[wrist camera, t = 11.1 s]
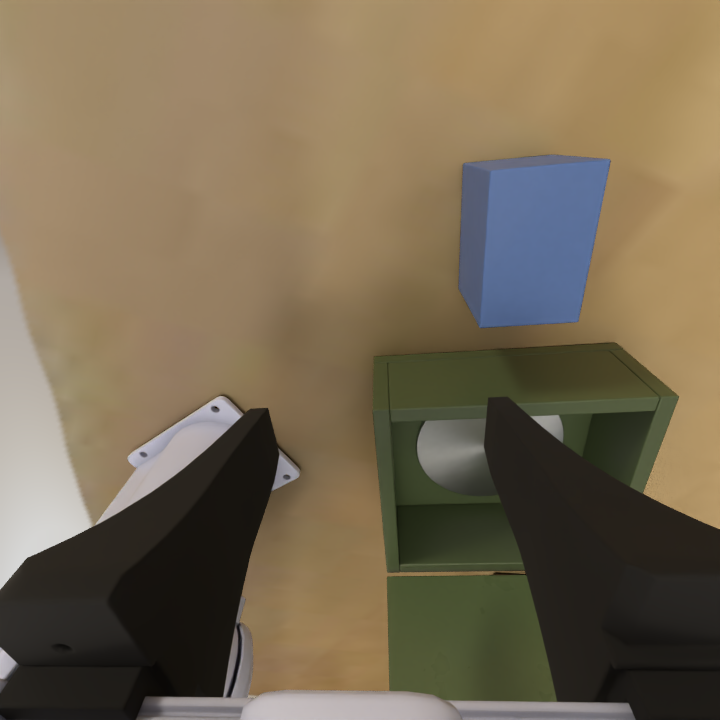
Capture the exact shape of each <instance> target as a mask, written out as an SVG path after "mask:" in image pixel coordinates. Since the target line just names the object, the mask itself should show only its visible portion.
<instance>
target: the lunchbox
mask: <svg viewBox="0 0 720 720" xmlns="http://www.w3.org/2000/svg"><path fill="white" fill-rule="evenodd" d="M488 397H509V398H510V399H511V400H512V401H513V402H515V403H516V404H517V405H518V406H519V407H520V408H521V409H522V410H524V411H525V412H526V413H527V414H528V415H529V416H550V415H559V416H560V419H561V421H562V425H563V430H564V438H563V444H565V445H566V446H567V447H569V448H570V449H571V450H573V451H574V452H576V453H577V454H578V455H580V456H581V457H582V458H584V459H585V460H587V461H588V462H590V463H591V464H593V465H594V466H596V467H598V468H599V469H601V470H602V471H604V472H606V473H607V474H609V475H610V476H612V477H614V478H615V479H617V480H619V481H620V482H622V483H624V484H626V485H627V486H629V487H631V488H633V489H635V490H637V491H639V492H640V493H642V494H643V491H644V489H645V486H646V483H647V481H648V478H649V476H650V473H651V470H652V468H653V465H654V462H655V460H656V457H657V454H658V452H659V449H660V446H661V444H662V441H663V438H664V436H665V433H666V430H667V428H668V425H669V422H670V420H671V417H672V414H673V412H674V409H675V406H676V404H677V401H678V398H679V396H678V395H677V394H676V393H675V392H673V391H672V390H671V389H670V388H669V387H667V386H666V385H665V384H664V383H663V382H662V381H660V380H659V379H658V378H657V377H656V376H654V375H653V374H652V373H651V372H650V371H649V370H647V369H646V368H645V367H644V366H643V365H641V364H640V363H639V362H638V361H637V360H636V359H634V358H633V357H632V356H631V355H630V354H629V353H627V352H626V351H625V350H623V348H621V347H620V346H619V345H618V344H617V343H604V344H586V345H569V346H551V347H534V348H516V349H499V350H481V351H464V352H446V353H429V354H411V355H394V356H376V357H374V369H373V421H374V433H375V444H376V455H377V466H378V477H379V488H380V499H381V511H382V522H383V533H384V544H385V555H386V566H387V572H388V573H393V572H459V571H525V569H524V565H523V561H522V558H521V554H520V551H519V548H518V545H517V542H516V539H515V537H514V534H513V531H512V529H511V526H510V524H509V521H508V519H507V516H506V513H505V511H504V508H503V506H502V503H501V501H500V498H499V496H498V495H493V496H470V495H464V494H459V493H456V492H453V491H450V490H448V489H445V488H443V487H442V486H440V485H438V484H437V483H435V482H434V481H433V480H432V479H431V478H430V477H429V476H428V475H427V474H426V473H425V471H424V470H423V469H422V467H421V465H420V463H419V460H418V456H417V449H416V442H417V436H418V432H419V429H420V427H421V424H422V423H423V421H435V420H458V419H481V418H486V415H487V403H488Z"/></svg>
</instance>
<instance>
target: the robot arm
mask: <svg viewBox="0 0 720 720" xmlns="http://www.w3.org/2000/svg"><path fill="white" fill-rule="evenodd" d="M214 406H217V407H218V408H219V409H216V408H215V407H214ZM484 450H485V454H486V458H487V463H488V466H489V470H490V474H491V477H492V480H493V482H494V485H495V488H496V490H497V493H498V496H499V498H500V501H501V503H502V506H503V508H504V511H505V513H506V516H507V519H508V521H509V524H510V526H511V529H512V531H513V534H514V537H515V539H516V542H517V545H518V548H519V551H520V554H521V558H522V561H523V565H524V569H525V572H526V576H527V579H528V583H529V587H530V590H531V594H532V598H533V602H534V606H535V610H536V613H537V617H538V621H539V625H540V629H541V634H542V638H543V642H544V646H545V650H546V654H547V658H548V663H549V667H550V672H551V676H552V680H553V685H554V689H555V694H556V698H557V702H527V701H451V700H443V699H441V698H439V697H437V696H435V695H431V694H424V693H416V692H409V691H336V690H282V691H273V692H265V693H262V694H260V695H259V696H257V697H255V698H247V697H248V694H249V690H250V685H251V680H252V673H253V641H252V636H251V632H250V630H249V628H248V627H247V626H246V625H245V624H243V623H241V622H239V621H240V618H241V614H242V611H243V607H244V604H245V600H246V599H245V598H244V597H243V596H241V595H242V590H243V585H244V581H245V576H246V572H247V568H248V563H249V559H250V555H251V552H252V548H253V545H254V541H255V539H256V536H257V533H258V530H259V527H260V524H261V521H262V518H263V515H264V512H265V509H266V506H267V503H268V500H269V497H270V494H271V491H273V490H275V489H277V488H279V487H281V486H283V485H285V484H287V483H289V482H291V481H293V480H295V479H297V478H298V477H299V475H300V469H299V468H298V467H297V466H296V465H295V464H294V463H293V462H292V461H291V460H290V459H289V458H288V457H287V456H286V455H285V454H284V453H283V452H282V451H281V450H280V449H279V448H278V446H277V442H276V438H275V434H274V430H273V426H272V422H271V418H270V414H269V410H268V408H256V409H250V410H248V411H247V412H246V413H245V414H243V413H242V412H241V411H240V410H239V409H238V408H237V407H236V406H235V405H234V404H233V403H232V402H231V401H230V400H229V399H228V398H226V397H224V396H219V397H217V398H215V399H214V400H212V401H210V402H209V403H207V404H206V405H204V406H203V407H201V408H200V409H198V410H197V411H195V412H193V413H192V414H190V415H189V416H187V417H186V418H184V419H183V420H181V421H179V422H178V423H176V424H175V425H173V426H172V427H170V428H169V429H167V430H166V431H164V432H162V433H161V434H159V435H158V436H156V437H155V438H153V439H152V440H150V441H149V442H147V443H145V444H144V445H142V446H141V447H139V448H138V449H136V450H135V451H133V452H131V454H130V455H129V456H128V461H129V462H130V463H131V464H132V465H133V466H134V467H136V468H137V469H136V470H135V471H134V473H133V474H132V475H131V477H130V478H129V480H128V481H127V482H126V484H125V485H124V486H123V488H122V489H121V490H120V492H119V493H118V494H117V496H116V497H115V498H114V500H113V501H112V502H111V504H110V505H109V507H108V508H107V509H106V511H105V512H104V513H103V515H102V516H101V517H100V519H99V520H98V521H97V523H96V524H95V525H94V526H93V527H91V528H89V529H88V530H86V531H84V532H82V533H80V534H78V535H76V536H74V537H72V538H70V539H68V540H65V541H64V542H61V543H59V544H57V545H55V546H53V547H50V548H48V549H46V550H44V551H42V552H40V553H38V554H36V555H33V556H31V557H28V558H27V559H26V560H25V561H24V563H23V564H22V565H21V566H20V567H19V568H18V570H17V571H16V572H15V573H14V574H13V575H12V577H11V578H10V579H9V580H8V581H7V583H6V584H5V585H4V586H3V587H2V588H1V590H0V720H720V529H717V528H715V527H712V526H710V525H707V524H705V523H703V522H700V521H698V520H696V519H694V518H692V517H689V516H687V515H685V514H683V513H681V512H678V511H676V510H674V509H672V508H670V507H668V506H666V505H664V504H662V503H660V502H658V501H656V500H654V499H652V498H650V497H648V496H646V495H644V494H642V493H640V492H639V491H637V490H635V489H633V488H631V487H629V486H627V485H626V484H624V483H622V482H620V481H619V480H617V479H615V478H614V477H612V476H610V475H609V474H607V473H606V472H604V471H602V470H601V469H599V468H598V467H596V466H594V465H593V464H591V463H590V462H588V461H587V460H585V459H584V458H582V457H581V456H580V455H578V454H577V453H576V452H574V451H573V450H571V449H570V448H569V447H567V446H566V445H565V444H563V443H562V442H561V441H559V440H558V439H557V438H556V437H554V436H553V435H552V434H551V433H549V432H548V431H547V430H546V429H544V428H543V427H542V426H541V425H540V424H538V423H537V422H536V421H535V420H534V419H533V418H532V417H530V416H529V415H528V414H527V413H526V412H525V411H524V410H522V409H521V408H520V407H519V406H518V405H517V404H516V403H515V402H513V401H512V400H511V399H510V398H509V397H488V403H487V415H486V426H485V438H484ZM286 474H287V475H289V476H287V475H286Z"/></svg>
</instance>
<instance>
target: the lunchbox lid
mask: <svg viewBox="0 0 720 720" xmlns="http://www.w3.org/2000/svg"><path fill="white" fill-rule="evenodd" d="M387 601H388V645H389V690H390V691H409V692H416V693H424V694H431V695H435V696H437V697H439V698H441V699H443V700H451V701H527V702H557V698H556V694H555V689H554V685H553V680H552V676H551V672H550V667H549V663H548V658H547V654H546V650H545V646H544V642H543V638H542V634H541V629H540V625H539V621H538V617H537V613H536V610H535V606H534V602H533V598H532V594H531V590H530V587H529V583H528V579H527V576H526V575H476V576H393V577H387Z"/></svg>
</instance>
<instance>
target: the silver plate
mask: <svg viewBox="0 0 720 720" xmlns="http://www.w3.org/2000/svg"><path fill="white" fill-rule="evenodd" d="M530 417H532V418H533V419H534V420H535V421H536V422H537V423H538V424H540V425H541V426H542V427H543V428H544V429H546V430H547V431H548V432H549V433H551V434H552V435H553V436H554V437H556V438H557V439H558V440H559V441H561V442H562V443H563V438H564V430H563V425H562V421H561V419H560V416H559V415H550V416H530ZM485 426H486V418H481V419H458V420H435V421H423V423H422V424H421V427H420V429H419V432H418V436H417V442H416V449H417V456H418V460H419V463H420V465H421V467H422V469H423V470H424V471H425V473H426V474H427V475H428V476H429V477H430V478H431V479H432V480H433V481H434V482H435V483H437V484H438V485H440V486H442V487H443V488H445V489H448V490H450V491H453V492H456V493H459V494H464V495H470V496H493V495H498V493H497V490H496V488H495V485H494V482H493V480H492V477H491V474H490V470H489V466H488V463H487V458H486V454H485V450H484V438H485Z"/></svg>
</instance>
